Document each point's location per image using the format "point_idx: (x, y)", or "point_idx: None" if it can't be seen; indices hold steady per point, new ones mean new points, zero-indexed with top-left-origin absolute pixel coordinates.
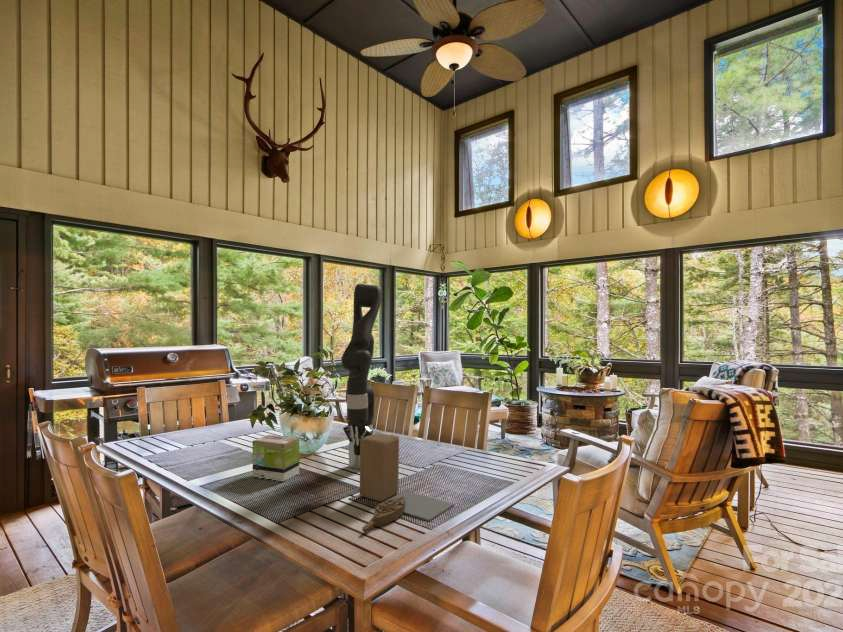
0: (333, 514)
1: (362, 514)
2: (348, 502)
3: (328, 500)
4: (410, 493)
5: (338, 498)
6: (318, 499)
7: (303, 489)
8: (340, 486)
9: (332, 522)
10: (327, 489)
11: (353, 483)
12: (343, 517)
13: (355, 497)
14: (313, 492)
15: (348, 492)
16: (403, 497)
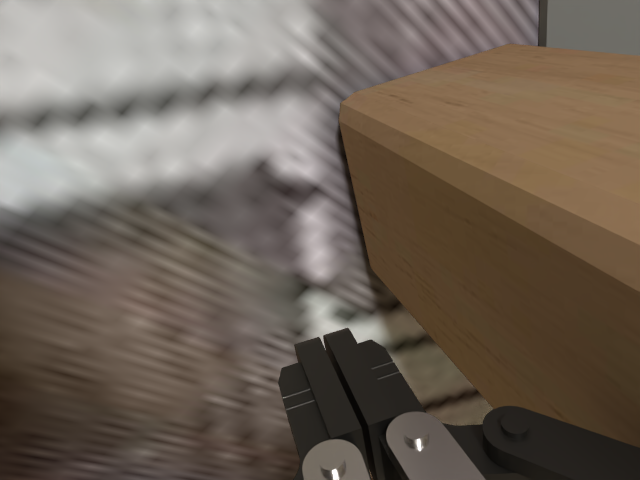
0: None
1: None
2: (380, 341)
3: (280, 408)
4: (599, 2)
5: (294, 361)
6: (229, 443)
7: (4, 473)
8: (109, 277)
9: None
10: (108, 363)
11: (111, 173)
12: (487, 413)
13: (353, 284)
14: (102, 439)
15: (254, 282)
16: None
